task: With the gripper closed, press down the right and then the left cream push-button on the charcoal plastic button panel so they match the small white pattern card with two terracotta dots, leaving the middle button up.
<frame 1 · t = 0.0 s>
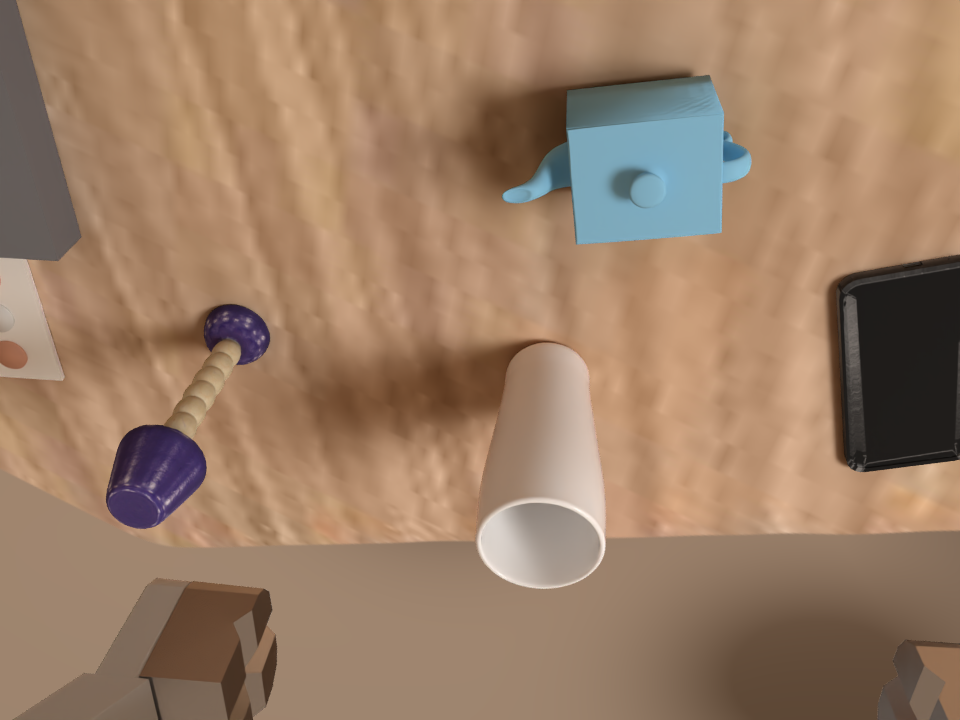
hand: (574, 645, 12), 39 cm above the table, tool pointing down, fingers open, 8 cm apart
toy lamp: (240, 326, 57), on the table
phone: (905, 363, 55), on the table
teapot: (620, 133, 48), on the table
drinking glass: (547, 370, 57), on the table
pattern card: (0, 313, 58), on the table
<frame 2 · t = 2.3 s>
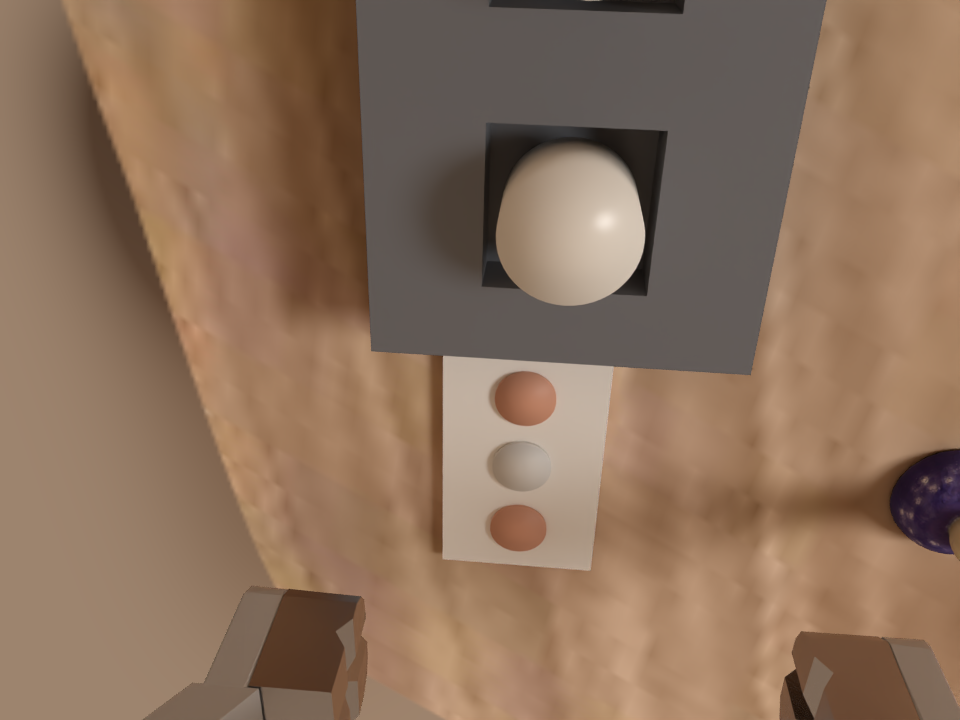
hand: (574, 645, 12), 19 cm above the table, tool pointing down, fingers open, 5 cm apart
toy lamp: (953, 485, 33), on the table
pattern card: (522, 458, 34), on the table
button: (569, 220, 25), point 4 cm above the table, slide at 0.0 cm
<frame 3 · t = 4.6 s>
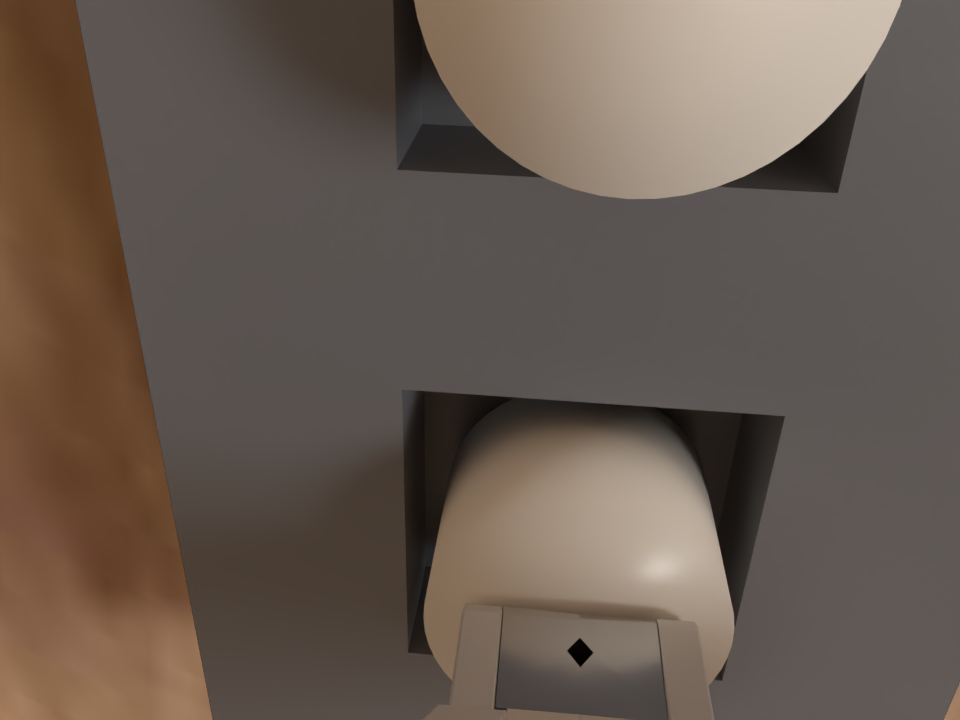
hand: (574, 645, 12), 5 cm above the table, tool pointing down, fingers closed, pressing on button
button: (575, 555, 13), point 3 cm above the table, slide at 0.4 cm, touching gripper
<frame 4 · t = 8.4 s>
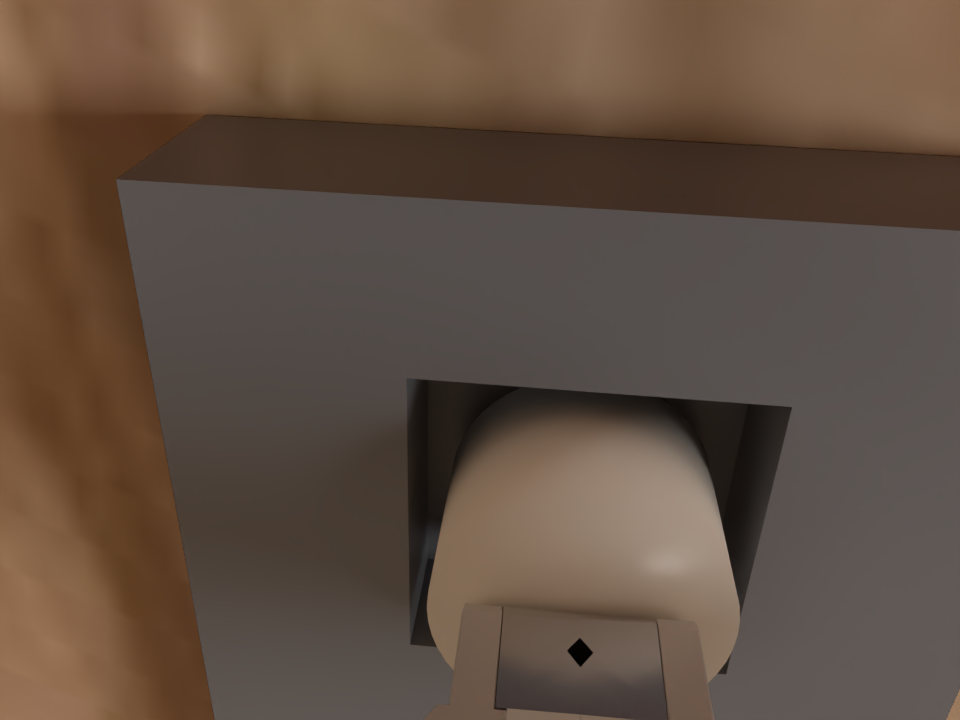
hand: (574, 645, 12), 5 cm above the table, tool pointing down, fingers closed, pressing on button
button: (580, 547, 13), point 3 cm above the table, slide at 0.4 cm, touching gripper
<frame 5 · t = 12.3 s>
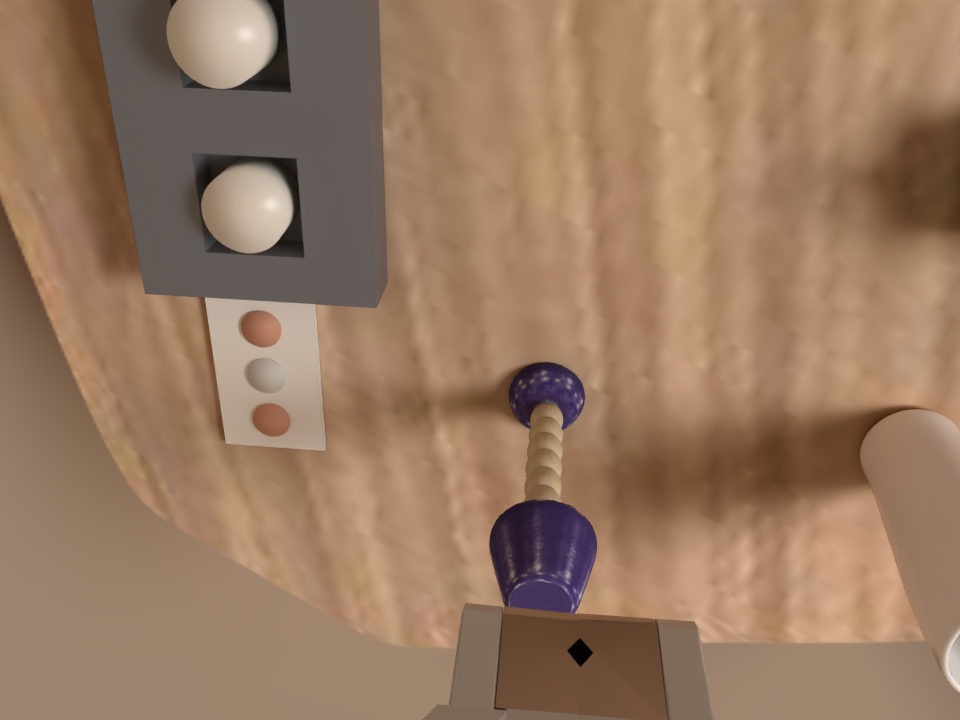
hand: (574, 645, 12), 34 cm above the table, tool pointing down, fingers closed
toy lamp: (549, 388, 50), on the table
drinking glass: (905, 442, 49), on the table
button panel: (251, 20, 41), on the table
pattern card: (269, 371, 51), on the table
button middle: (225, 33, 38), point 4 cm above the table, slide at 0.0 cm
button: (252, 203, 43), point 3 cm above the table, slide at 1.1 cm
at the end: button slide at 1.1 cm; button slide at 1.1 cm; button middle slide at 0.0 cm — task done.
